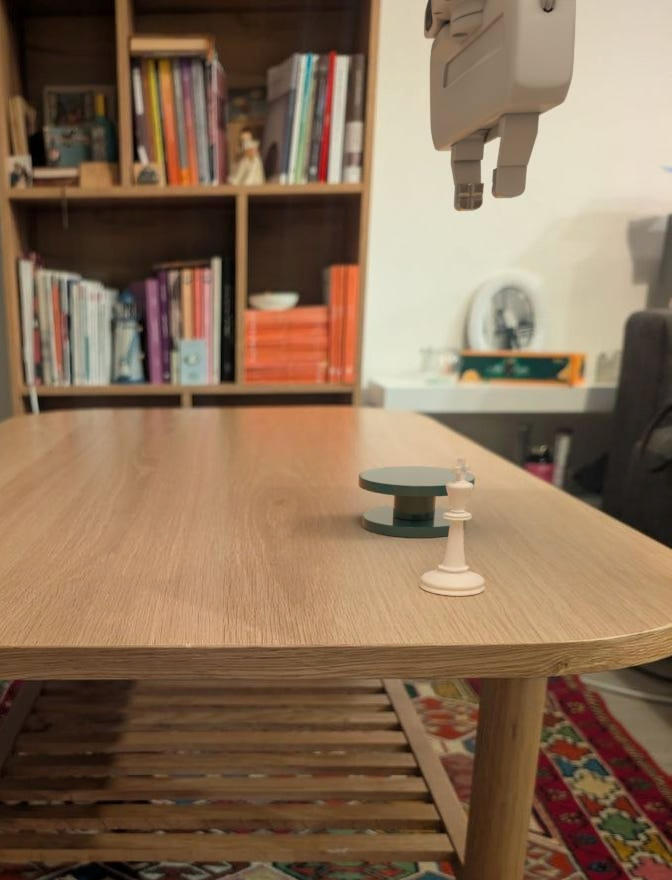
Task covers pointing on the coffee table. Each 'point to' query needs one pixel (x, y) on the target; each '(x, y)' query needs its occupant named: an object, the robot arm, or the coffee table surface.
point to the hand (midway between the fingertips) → (486, 204)
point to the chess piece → (455, 544)
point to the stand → (409, 500)
